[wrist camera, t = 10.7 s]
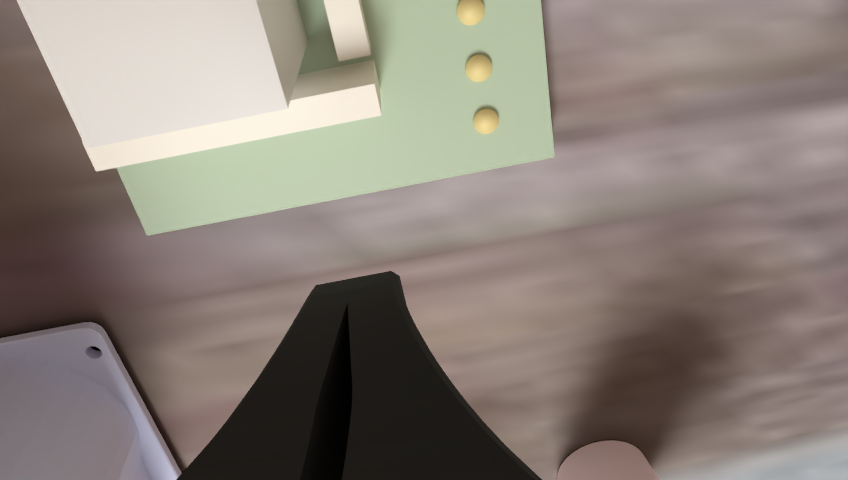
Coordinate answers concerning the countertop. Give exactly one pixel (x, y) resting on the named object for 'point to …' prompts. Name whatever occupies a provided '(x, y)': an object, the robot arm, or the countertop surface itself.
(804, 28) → the countertop surface
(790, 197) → the countertop surface
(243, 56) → the white block
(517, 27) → the board
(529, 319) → the countertop surface
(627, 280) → the countertop surface
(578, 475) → the smoothie
